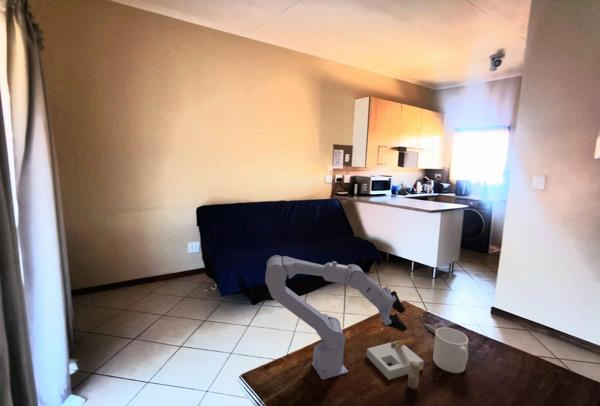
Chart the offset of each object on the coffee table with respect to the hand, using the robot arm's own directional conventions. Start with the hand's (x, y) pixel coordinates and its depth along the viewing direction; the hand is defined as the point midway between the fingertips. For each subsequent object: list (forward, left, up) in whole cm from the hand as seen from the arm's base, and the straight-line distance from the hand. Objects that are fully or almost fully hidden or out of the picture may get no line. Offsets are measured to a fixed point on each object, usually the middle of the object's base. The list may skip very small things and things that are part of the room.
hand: (403, 320), depth 97 cm
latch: (+4, +3, -11) cm, 12 cm away
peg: (-2, -8, -17) cm, 19 cm away
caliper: (+26, +7, -17) cm, 32 cm away
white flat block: (-1, +2, -17) cm, 17 cm away
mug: (+17, -6, -17) cm, 25 cm away
